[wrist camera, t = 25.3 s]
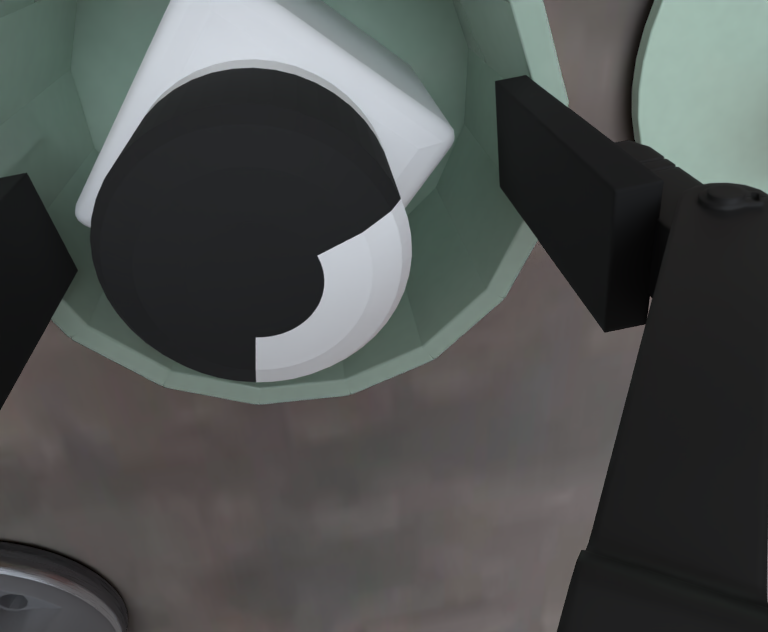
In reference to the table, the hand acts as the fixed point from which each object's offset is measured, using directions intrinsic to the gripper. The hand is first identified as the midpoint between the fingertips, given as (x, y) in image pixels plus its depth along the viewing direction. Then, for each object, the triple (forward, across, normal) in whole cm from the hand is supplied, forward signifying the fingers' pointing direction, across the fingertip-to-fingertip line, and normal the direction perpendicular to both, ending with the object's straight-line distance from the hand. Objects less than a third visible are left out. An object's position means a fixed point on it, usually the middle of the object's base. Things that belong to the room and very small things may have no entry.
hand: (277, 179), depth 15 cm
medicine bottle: (+7, 0, 0) cm, 7 cm away
